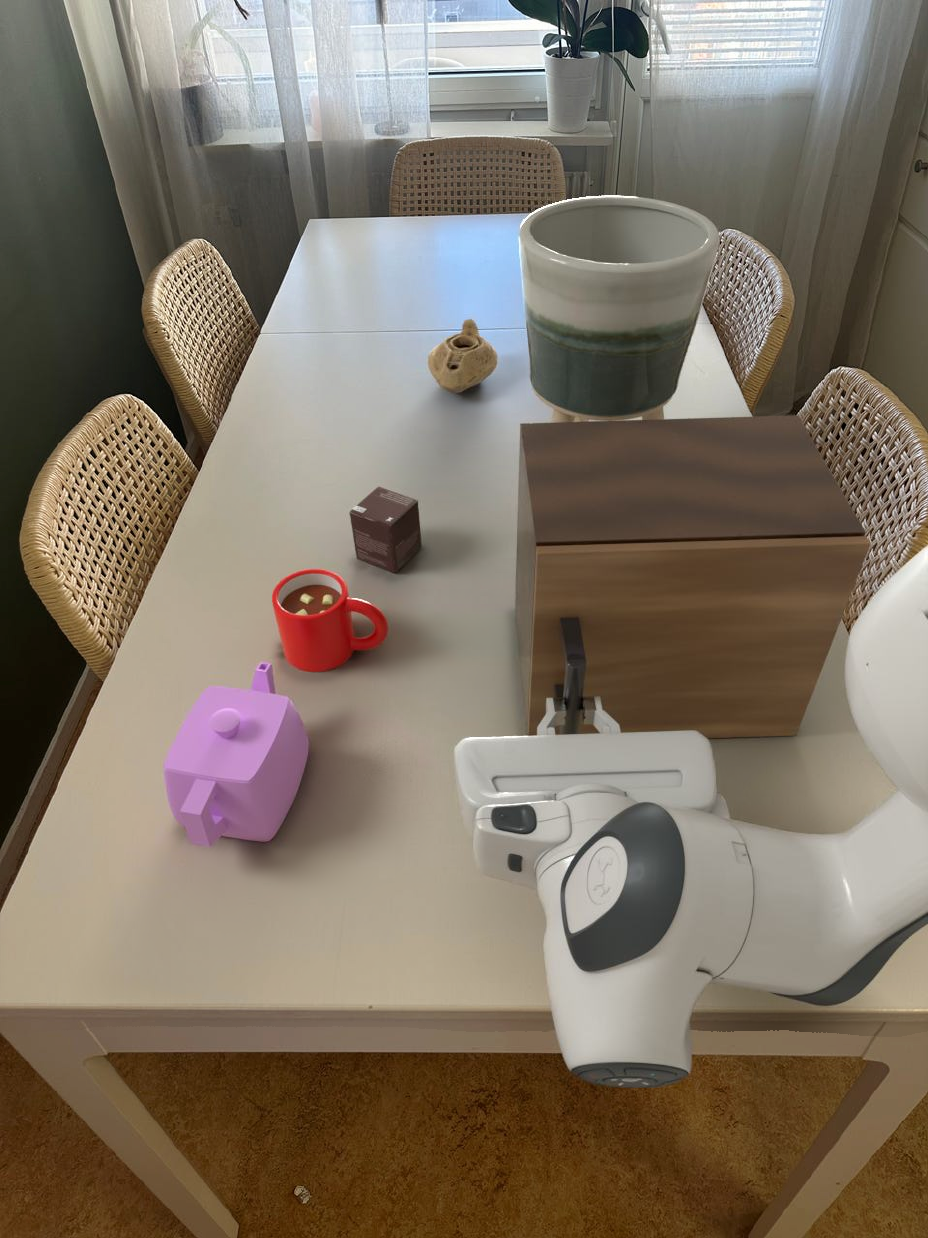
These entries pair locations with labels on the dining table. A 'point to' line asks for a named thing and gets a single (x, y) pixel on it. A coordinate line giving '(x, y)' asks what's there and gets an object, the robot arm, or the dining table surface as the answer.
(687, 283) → the planter
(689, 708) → the cupboard door
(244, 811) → the teapot
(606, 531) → the cupboard
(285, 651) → the mug
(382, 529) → the box
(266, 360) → the dining table surface
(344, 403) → the dining table surface
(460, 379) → the oil lamp
